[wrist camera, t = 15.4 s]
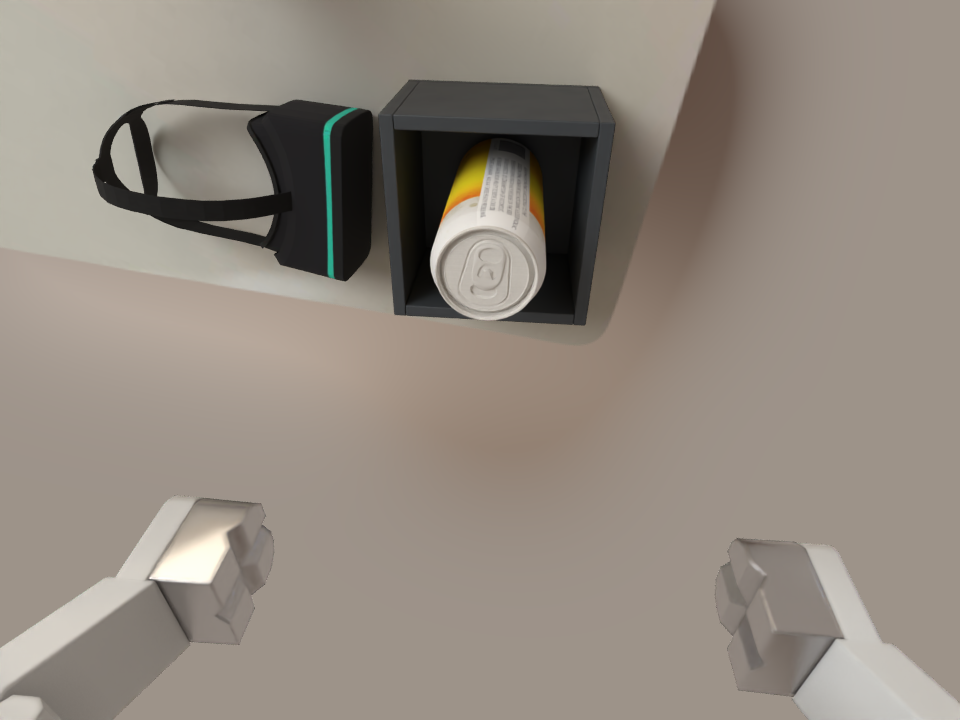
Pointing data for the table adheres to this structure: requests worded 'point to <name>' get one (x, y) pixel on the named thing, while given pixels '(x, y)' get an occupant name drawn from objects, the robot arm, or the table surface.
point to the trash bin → (437, 155)
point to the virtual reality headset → (274, 184)
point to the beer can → (492, 232)
